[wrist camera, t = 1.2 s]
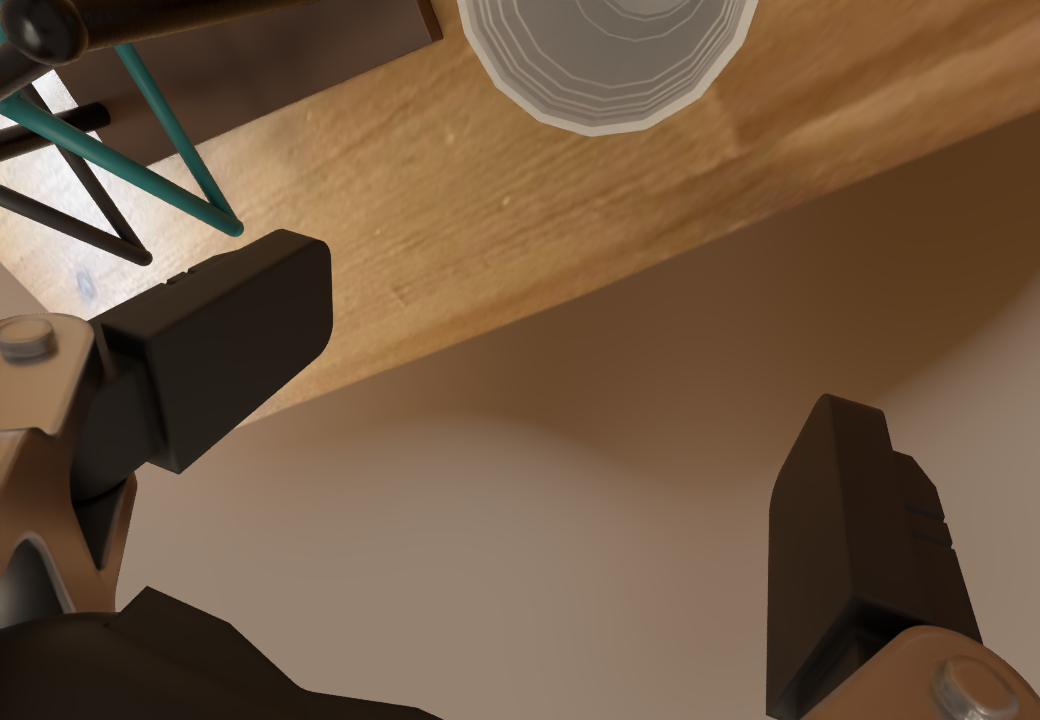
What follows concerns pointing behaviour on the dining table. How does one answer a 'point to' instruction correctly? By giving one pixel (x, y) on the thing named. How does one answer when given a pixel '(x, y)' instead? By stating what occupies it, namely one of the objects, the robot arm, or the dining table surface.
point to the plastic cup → (604, 56)
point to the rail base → (244, 68)
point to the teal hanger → (125, 167)
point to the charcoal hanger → (69, 225)
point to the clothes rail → (95, 43)
